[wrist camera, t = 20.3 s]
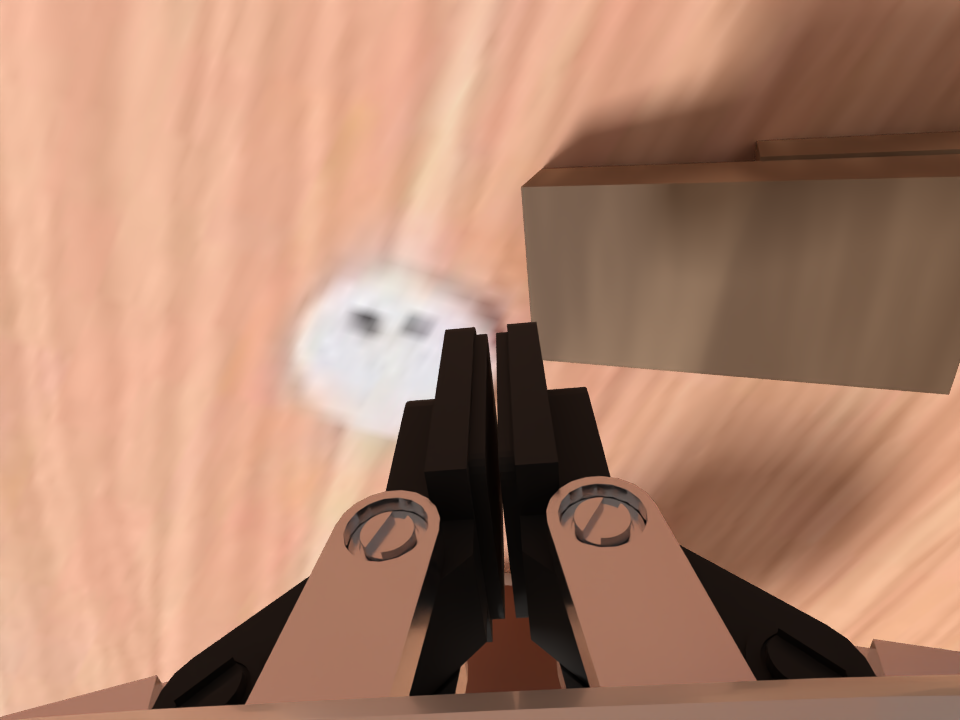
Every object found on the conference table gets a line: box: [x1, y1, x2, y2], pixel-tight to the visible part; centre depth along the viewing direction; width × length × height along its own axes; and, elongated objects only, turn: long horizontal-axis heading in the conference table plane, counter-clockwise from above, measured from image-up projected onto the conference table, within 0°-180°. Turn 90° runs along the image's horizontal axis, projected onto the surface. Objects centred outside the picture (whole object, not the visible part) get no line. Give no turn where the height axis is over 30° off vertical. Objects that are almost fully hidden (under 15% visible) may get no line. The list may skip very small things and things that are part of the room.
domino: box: [521, 154, 960, 395], centre depth 15 cm, size 2×5×10 cm
